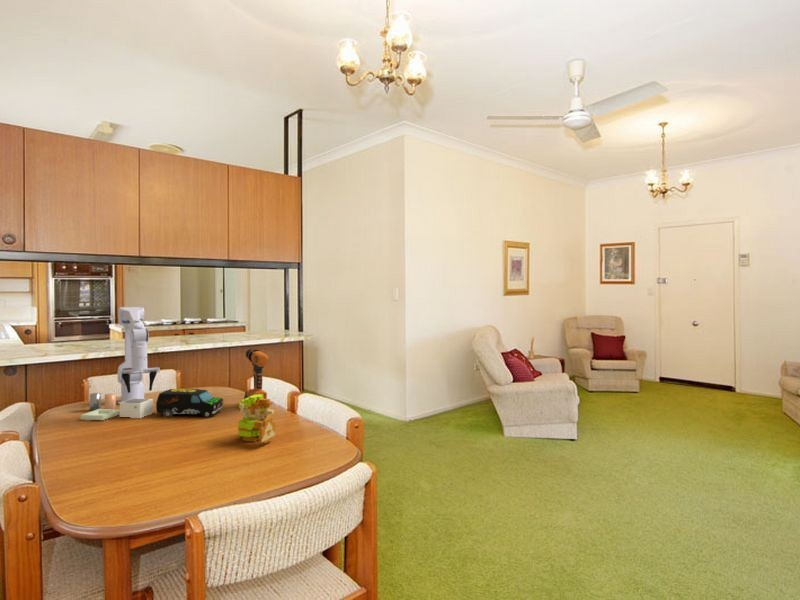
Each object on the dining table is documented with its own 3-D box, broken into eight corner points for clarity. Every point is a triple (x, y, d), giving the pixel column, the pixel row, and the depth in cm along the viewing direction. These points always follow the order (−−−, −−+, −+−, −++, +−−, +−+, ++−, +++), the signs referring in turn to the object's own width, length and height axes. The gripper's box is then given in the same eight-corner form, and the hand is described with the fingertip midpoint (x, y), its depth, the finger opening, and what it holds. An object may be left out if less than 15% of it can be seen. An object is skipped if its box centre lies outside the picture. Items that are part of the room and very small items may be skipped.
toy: (261, 447, 155) (262, 403, 154) (225, 443, 158) (225, 399, 158) (284, 434, 169) (285, 393, 169) (250, 431, 173) (251, 390, 173)
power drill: (239, 400, 220) (239, 347, 220) (254, 398, 225) (255, 347, 224) (253, 410, 203) (253, 353, 202) (269, 408, 207) (270, 352, 206)
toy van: (214, 418, 190) (214, 393, 190) (154, 417, 190) (154, 392, 190) (224, 411, 201) (224, 388, 201) (167, 410, 201) (167, 387, 201)
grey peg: (94, 408, 202) (94, 392, 202) (102, 409, 202) (103, 392, 202) (87, 410, 198) (87, 394, 198) (95, 411, 198) (95, 394, 198)
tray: (99, 413, 194) (99, 408, 194) (120, 414, 193) (120, 409, 193) (80, 419, 184) (80, 414, 184) (102, 421, 183) (102, 416, 183)
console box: (133, 412, 197) (133, 397, 197) (153, 413, 196) (153, 398, 196) (119, 417, 188) (119, 402, 188) (139, 418, 187) (139, 403, 187)
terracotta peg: (109, 409, 201) (109, 393, 201) (117, 409, 201) (117, 393, 201) (102, 411, 197) (102, 395, 197) (110, 412, 197) (111, 395, 197)
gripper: (117, 359, 185) (117, 394, 184) (158, 356, 191) (159, 390, 190) (120, 359, 191) (120, 392, 190) (159, 356, 197) (160, 389, 196)
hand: (139, 391), depth 190 cm, fingers open, 7 cm apart
